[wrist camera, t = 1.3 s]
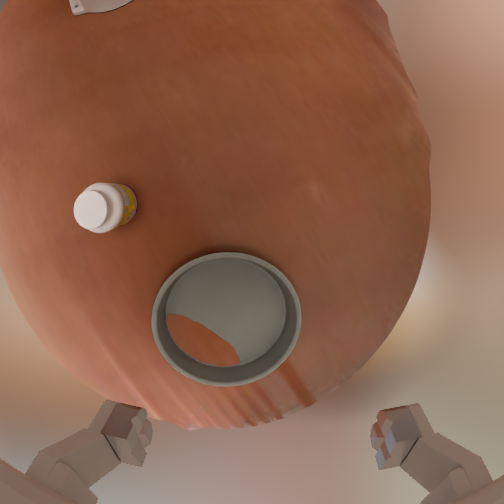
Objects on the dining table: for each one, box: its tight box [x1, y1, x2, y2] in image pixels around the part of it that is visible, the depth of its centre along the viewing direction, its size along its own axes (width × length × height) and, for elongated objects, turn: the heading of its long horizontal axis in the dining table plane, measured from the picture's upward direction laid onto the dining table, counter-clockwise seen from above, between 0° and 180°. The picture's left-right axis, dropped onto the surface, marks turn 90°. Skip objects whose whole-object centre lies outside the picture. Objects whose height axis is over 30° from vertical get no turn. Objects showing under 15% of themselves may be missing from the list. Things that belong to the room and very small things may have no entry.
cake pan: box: [152, 252, 302, 387], centre depth 47 cm, size 25×25×4 cm
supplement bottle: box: [74, 183, 137, 233], centre depth 36 cm, size 7×7×13 cm
